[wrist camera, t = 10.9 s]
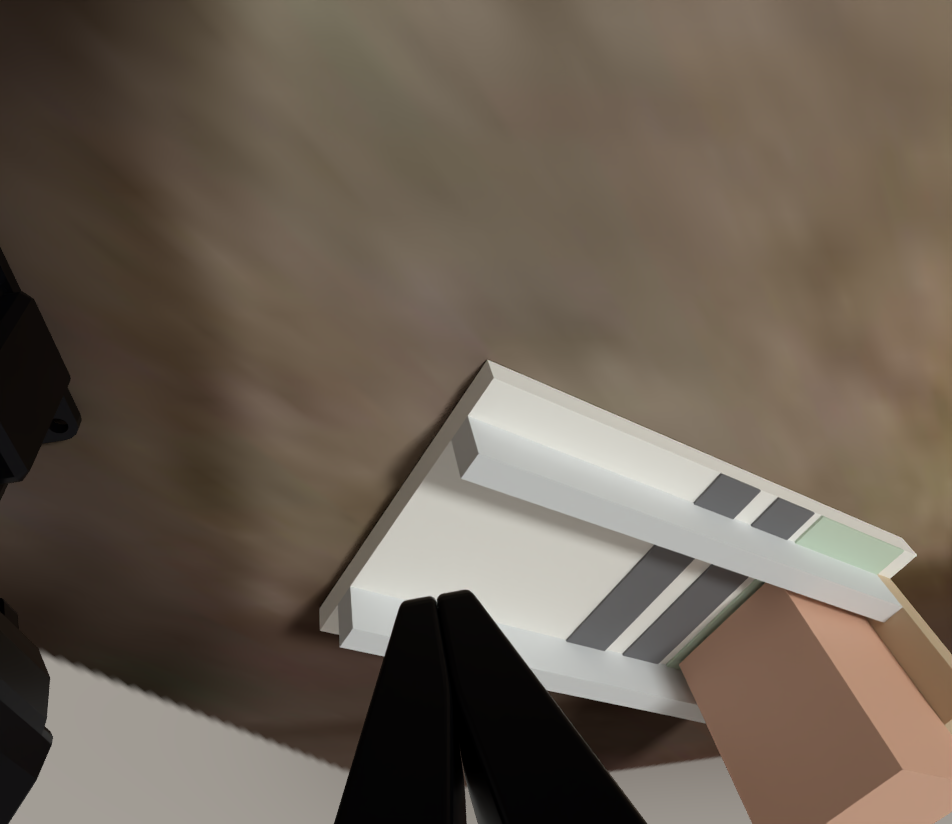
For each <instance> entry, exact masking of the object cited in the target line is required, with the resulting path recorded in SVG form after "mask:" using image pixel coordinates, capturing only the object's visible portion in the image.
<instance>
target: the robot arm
mask: <svg viewBox="0 0 952 824" xmlns="http://www.w3.org/2000/svg"><path fill="white" fill-rule="evenodd" d="M70 379H71V378H70V375H69V373H68V370H67V368H66V366H65V364H64V362H63V360H62V358H61V356H60V353H59V351H58V349H57V347H56V345H55V343H54V341H53V339H52V336H51V334H50V332H49V330H48V328H47V326H46V324H45V322H44V319H43V317H42V315H41V313H40V311H39V309H38V307H37V305H36V302H35V300H34V299H33V298H31V297H30V296H29V295H27V294H26V293H24V292H22V291H21V289H20V287H19V285H18V283H17V281H16V279H15V277H14V275H13V273H12V271H11V269H10V266H9V264H8V262H7V260H6V258H5V256H4V254H3V252H2V250H1V248H0V500H1V498H2V496H3V494H4V492H5V489H6V487H7V485H8V483H14V482H20V481H23V479H24V478H25V477H26V475H27V474H28V472H29V471H30V469H31V467H32V465H33V463H34V460H35V458H36V456H37V454H38V451H39V449H40V447H41V445H42V443H49V442H55V441H62V440H67V439H70V438H72V437H73V436H74V435H76V433H77V431H78V428H79V426H80V423H81V415H80V413H79V411H78V408H77V406H76V404H75V402H74V400H73V398H72V396H71V394H70V392H69V390H68V388H67V387H68V384H69V382H70ZM54 418H55V419H62V420H64V421H65V422H66V423H67V424H66V425H62V424H58V423H56V422H55V421H54V420H53V419H54ZM49 684H50V676H49V674H48V671H47V669H46V667H45V664H44V661H43V659H42V657H41V654H40V652H39V649H38V648H37V647H36V646H35V645H34V644H33V643H32V642H31V641H30V640H29V639H28V638H27V637H26V636H25V635H24V634H23V633H22V632H21V631H20V630H19V626H18V615H17V612H16V611H15V610H14V609H13V608H12V607H11V606H10V605H9V604H8V603H7V602H6V601H5V600H4V599H2V598H0V824H9V822H10V820H11V819H12V817H13V816H14V814H15V813H16V811H17V809H18V808H19V806H20V805H21V804H22V802H23V800H24V799H25V797H26V796H27V794H28V793H29V791H30V790H31V788H32V787H33V785H34V783H35V781H36V780H37V777H38V775H39V773H40V770H41V768H42V766H43V764H44V761H45V759H46V757H47V754H48V752H49V750H50V747H51V745H52V739H53V736H52V734H51V732H50V731H49V730H48V729H47V728H46V727H45V723H46V719H47V707H48V696H49ZM459 746H460V747H459ZM460 752H461V754H460ZM461 758H462V761H461ZM462 763H463V768H464V773H465V778H466V782H467V786H468V790H469V794H470V798H471V801H472V805H473V808H474V812H475V815H476V818H477V822H478V824H647V823H646V821H645V820H644V819H643V817H642V816H641V815H640V813H639V812H638V811H637V809H636V808H635V807H634V805H633V804H632V803H631V801H630V800H629V799H628V797H627V796H626V795H625V794H624V792H623V791H622V790H621V788H620V787H619V786H618V784H617V783H616V782H615V780H614V779H613V778H612V776H611V775H610V774H609V772H608V771H607V770H606V768H605V767H604V766H603V764H602V763H601V762H600V760H599V759H598V758H597V756H596V755H595V754H594V752H593V751H592V750H591V748H590V747H589V746H588V744H587V743H586V742H585V740H584V739H583V738H582V736H581V735H580V734H579V732H578V731H577V730H576V729H575V727H574V726H573V725H572V723H571V722H570V721H569V719H568V718H567V717H566V715H565V714H564V713H563V711H562V710H561V709H560V707H559V706H558V705H557V703H556V702H555V701H554V699H553V698H552V697H551V695H550V694H549V693H548V691H547V690H546V689H545V687H544V686H543V685H542V683H541V682H540V681H539V679H538V678H537V677H536V675H535V674H534V673H533V671H532V670H531V669H530V668H529V666H528V665H527V664H526V662H525V661H524V660H523V658H522V657H521V656H520V654H519V653H518V652H517V650H516V649H515V648H514V646H513V645H512V644H511V642H510V641H509V640H508V638H507V637H506V636H505V634H504V633H503V632H502V630H501V629H500V628H499V626H498V625H497V624H496V622H495V621H494V620H493V618H492V617H491V616H490V614H489V613H488V612H487V611H486V609H485V608H484V607H483V605H482V604H481V603H480V601H479V600H478V599H477V597H476V596H475V595H474V594H473V593H472V592H471V591H470V590H459V591H454V592H448V593H443V594H440V595H439V596H438V598H437V602H436V599H435V598H434V597H432V596H426V597H421V598H415V599H410V600H405V601H403V602H402V603H401V605H400V607H399V609H398V613H397V616H396V619H395V622H394V626H393V629H392V632H391V636H390V639H389V642H388V646H387V649H386V652H385V656H384V659H383V662H382V666H381V669H380V672H379V676H378V679H377V682H376V686H375V689H374V692H373V696H372V699H371V702H370V706H369V709H368V712H367V716H366V719H365V722H364V726H363V729H362V732H361V736H360V739H359V742H358V746H357V749H356V752H355V756H354V759H353V762H352V766H351V769H350V772H349V776H348V779H347V782H346V786H345V789H344V792H343V795H342V799H341V802H340V805H339V809H338V812H337V815H336V819H335V822H334V824H467V823H466V800H465V787H464V776H463V769H462Z"/></svg>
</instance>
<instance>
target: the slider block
mask: <svg viewBox="0 0 952 824" xmlns="http://www.w3.org/2000/svg"><path fill="white" fill-rule="evenodd" d="M679 666H680V668H681V670H682V673H683V675H684V677H685V679H686V681H687V683H688V685H689V688H690V690H691V692H692V694H693V696H694V698H695V701H696V703H697V705H698V707H699V709H700V711H701V714H702V716H703V718H704V720H705V722H706V724H707V727H708V729H709V731H710V733H711V735H712V737H713V739H714V742H715V744H716V746H717V748H718V750H719V752H720V755H721V757H722V759H723V761H724V763H725V765H726V768H727V770H728V772H729V774H730V776H731V778H732V780H733V783H734V785H735V787H736V789H737V791H738V794H739V796H740V798H741V800H742V802H743V804H744V806H745V808H746V811H747V813H748V815H749V817H750V819H751V821H752V824H933V823H935V822H937V821H938V820H940V819H941V818H943V817H944V816H946V815H947V814H949V813H951V812H952V735H951V733H950V732H949V731H948V729H947V728H946V727H945V725H944V724H943V722H942V721H941V720H940V718H939V717H938V716H937V714H936V713H935V712H934V710H933V709H932V708H931V706H930V705H929V703H928V702H927V701H926V699H925V698H924V697H923V695H922V694H921V693H920V691H919V690H918V688H917V687H916V686H915V684H914V683H913V682H912V680H911V679H910V678H909V676H908V675H907V674H906V672H905V671H904V669H903V668H902V667H901V665H900V664H899V663H898V661H897V660H896V659H895V657H894V656H893V655H892V653H891V652H890V650H889V649H888V648H887V646H886V645H885V644H884V642H883V641H882V640H881V638H880V637H879V636H878V634H877V633H876V631H875V630H874V629H873V627H872V626H871V625H870V623H869V622H868V621H867V619H866V618H865V617H864V616H863V615H860V614H857V613H854V612H851V611H848V610H845V609H842V608H839V607H836V606H833V605H831V604H828V603H825V602H822V601H819V600H816V599H813V598H810V597H807V596H804V595H801V594H798V593H795V592H792V591H789V590H787V589H784V588H781V587H778V586H775V585H772V584H769V583H764V584H763V585H762V586H761V587H760V588H759V589H758V590H757V591H756V592H755V593H754V594H753V595H752V596H751V597H750V598H749V599H748V600H746V601H745V602H744V603H743V604H742V605H741V606H740V607H739V608H738V609H737V610H736V611H735V612H734V613H733V614H732V615H731V616H729V617H728V618H727V619H726V620H725V621H724V622H723V623H722V624H721V625H720V626H719V627H718V628H717V629H716V630H715V631H714V632H713V633H711V634H710V635H709V636H708V637H707V638H706V639H705V640H704V641H703V642H702V643H701V644H700V645H699V646H698V647H697V648H696V649H695V650H693V651H692V652H691V653H690V654H689V655H688V656H687V657H686V658H685V659H684V660H683V661H682V662H681V663H680V664H679Z"/></svg>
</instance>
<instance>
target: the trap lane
mask: <svg viewBox="0 0 952 824" xmlns="http://www.w3.org/2000/svg"><path fill="white" fill-rule="evenodd" d="M916 556H917V554H916V553H915V552H914V551H913V550H912V549H911V548H910V546H909V545H908V544H907V543H906V542H905V541H904V540H903V538H901V537H899V536H896V535H894V534H892V533H889V532H887V531H885V530H882V529H880V528H878V527H875V526H873V525H871V524H868V523H866V522H864V521H861V520H859V519H857V518H854V517H852V516H850V515H848V514H845V513H843V512H841V511H838V510H836V509H834V508H831V507H829V506H827V505H824V504H822V503H820V502H817V501H815V500H813V499H810V498H808V497H806V496H803V495H801V494H799V493H796V492H794V491H792V490H789V489H787V488H785V487H782V486H780V485H778V484H775V483H773V482H771V481H768V480H766V479H764V478H761V477H759V476H757V475H755V474H752V473H750V472H748V471H745V470H743V469H741V468H738V467H736V466H734V465H731V464H729V463H727V462H724V461H722V460H720V459H717V458H715V457H713V456H710V455H708V454H706V453H703V452H701V451H699V450H696V449H694V448H692V447H689V446H687V445H685V444H682V443H680V442H678V441H675V440H673V439H671V438H668V437H666V436H664V435H662V434H659V433H657V432H655V431H652V430H650V429H648V428H645V427H643V426H641V425H638V424H636V423H634V422H631V421H629V420H627V419H624V418H622V417H620V416H617V415H615V414H613V413H610V412H608V411H606V410H603V409H601V408H599V407H596V406H594V405H592V404H589V403H587V402H585V401H582V400H580V399H578V398H575V397H573V396H571V395H569V394H566V393H564V392H562V391H559V390H557V389H555V388H552V387H550V386H548V385H545V384H543V383H541V382H538V381H536V380H534V379H531V378H529V377H527V376H524V375H522V374H520V373H517V372H515V371H513V370H510V369H508V368H506V367H503V366H501V365H499V364H496V363H494V362H492V361H489V360H487V361H486V362H485V364H484V365H483V367H482V368H481V370H480V371H479V373H478V374H477V376H476V377H475V379H474V380H473V382H472V383H471V385H470V386H469V388H468V389H467V391H466V392H465V393H464V395H463V396H462V398H461V399H460V401H459V402H458V404H457V405H456V407H455V408H454V410H453V411H452V413H451V414H450V416H449V417H448V419H447V420H446V422H445V423H444V425H443V426H442V428H441V429H440V431H439V432H438V433H437V435H436V436H435V438H434V439H433V441H432V442H431V444H430V445H429V447H428V448H427V450H426V451H425V453H424V454H423V456H422V457H421V459H420V460H419V462H418V463H417V465H416V466H415V468H414V469H413V471H412V472H411V474H410V475H409V476H408V478H407V479H406V481H405V482H404V484H403V485H402V487H401V488H400V490H399V491H398V493H397V494H396V496H395V497H394V499H393V500H392V502H391V503H390V505H389V506H388V508H387V509H386V511H385V512H384V514H383V515H382V517H381V518H380V519H379V521H378V522H377V524H376V525H375V527H374V528H373V530H372V531H371V533H370V534H369V536H368V537H367V539H366V540H365V542H364V543H363V545H362V546H361V548H360V549H359V551H358V552H357V554H356V555H355V557H354V558H353V560H352V561H351V562H350V564H349V565H348V567H347V568H346V570H345V571H344V573H343V574H342V576H341V577H340V579H339V580H338V582H337V583H336V585H335V586H334V588H333V589H332V591H331V592H330V594H329V595H328V597H327V598H326V600H325V601H324V603H323V604H322V605H321V607H320V608H319V617H320V631H324V632H328V633H333V634H338V635H339V643H340V647H341V648H346V649H351V650H356V651H361V652H366V653H370V654H375V655H380V656H385V652H386V649H387V646H388V642H389V639H390V636H391V632H392V629H393V626H394V622H395V619H396V616H397V613H398V609H399V607H400V605H401V603H402V602H403V601H405V600H410V599H415V598H421V597H426V596H432V597H434V598H435V599H436V602H437V598H438V596H439V595H440V594H443V593H448V592H454V591H459V590H470V591H471V592H472V593H473V594H474V595H475V596H476V597H477V599H478V600H479V601H480V603H481V604H482V605H483V607H484V608H485V609H486V611H487V612H488V613H489V614H490V616H491V617H492V618H493V620H494V621H495V622H496V624H497V625H498V626H499V628H500V629H501V630H502V632H503V633H504V634H505V636H506V637H507V638H508V640H509V641H510V642H511V644H512V645H513V646H514V648H515V649H516V650H517V652H518V653H519V654H520V656H521V657H522V658H523V660H524V661H525V662H526V664H527V665H528V666H529V668H530V669H531V670H532V671H533V673H534V674H535V675H536V677H537V678H538V679H539V681H540V682H541V683H542V685H543V686H544V687H545V689H546V690H548V691H553V692H558V693H563V694H568V695H572V696H577V697H582V698H587V699H592V700H597V701H601V702H606V703H611V704H616V705H621V706H625V707H630V708H635V709H640V710H645V711H649V712H654V713H659V714H664V715H669V716H674V717H678V718H683V719H688V720H693V721H698V722H702V723H706V722H705V720H704V718H703V716H702V714H701V711H700V709H699V707H698V705H697V703H696V701H695V698H694V696H693V694H692V692H691V690H690V688H689V685H688V683H687V681H686V679H685V677H684V675H683V673H682V670H681V668H680V666H679V664H680V663H681V662H682V661H683V660H684V659H685V658H686V657H687V656H688V655H689V654H690V653H691V652H692V651H693V650H695V649H696V648H697V647H698V646H699V645H700V644H701V643H702V642H703V641H704V640H705V639H706V638H707V637H708V636H709V635H710V634H711V633H713V632H714V631H715V630H716V629H717V628H718V627H719V626H720V625H721V624H722V623H723V622H724V621H725V620H726V619H727V618H728V617H729V616H731V615H732V614H733V613H734V612H735V611H736V610H737V609H738V608H739V607H740V606H741V605H742V604H743V603H744V602H745V601H746V600H748V599H749V598H750V597H751V596H752V595H753V594H754V593H755V592H756V591H757V590H758V589H759V588H760V587H761V586H762V585H763V584H764V583H769V584H772V585H775V586H778V587H781V588H784V589H787V590H789V591H792V592H795V593H798V594H801V595H804V596H807V597H810V598H813V599H816V600H819V601H822V602H825V603H828V604H831V605H833V606H836V607H839V608H842V609H845V610H848V611H851V612H854V613H857V614H860V615H863V616H864V617H865V618H866V619H867V621H868V622H869V623H870V625H871V626H872V627H873V629H874V630H875V631H876V633H877V634H878V636H879V637H880V638H881V640H882V641H883V642H884V644H885V645H886V646H887V648H888V649H889V650H890V652H891V653H892V655H893V656H894V657H895V659H896V660H897V661H898V663H899V664H900V665H901V667H902V668H903V669H904V671H905V672H906V674H907V675H908V676H909V678H910V679H911V680H912V682H913V683H914V684H915V686H916V687H917V688H918V690H919V691H920V693H921V694H922V695H923V697H924V698H925V699H926V701H927V702H928V703H929V705H930V706H931V708H932V709H933V710H934V712H935V713H936V714H937V716H938V717H939V718H940V720H941V721H942V722H943V724H944V725H945V727H946V728H947V729H948V731H949V732H950V733H951V735H952V654H951V653H950V652H949V651H948V650H947V648H946V647H945V646H944V645H943V643H942V642H941V641H940V640H939V638H938V637H937V636H936V635H935V634H934V632H933V631H932V630H931V629H930V627H929V626H928V625H927V624H926V622H925V621H924V620H923V619H922V617H921V616H920V615H919V614H918V613H917V611H916V610H915V609H914V608H913V606H912V605H911V604H910V603H909V601H908V600H907V599H906V598H905V596H904V595H903V594H902V593H901V592H900V590H899V589H898V588H897V587H896V585H895V584H894V583H893V582H892V580H891V579H890V578H891V577H892V576H894V575H895V574H896V573H897V572H898V571H899V570H901V569H902V568H903V567H904V566H905V565H906V564H908V563H909V562H910V561H911V560H912V559H913V558H915V557H916Z"/></svg>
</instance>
